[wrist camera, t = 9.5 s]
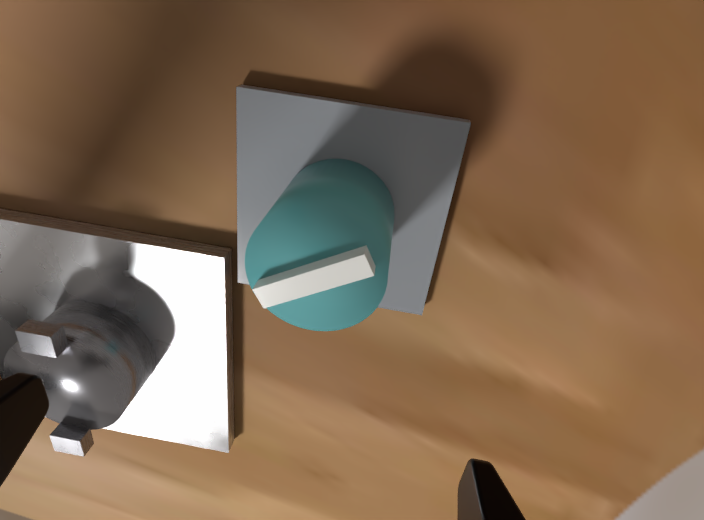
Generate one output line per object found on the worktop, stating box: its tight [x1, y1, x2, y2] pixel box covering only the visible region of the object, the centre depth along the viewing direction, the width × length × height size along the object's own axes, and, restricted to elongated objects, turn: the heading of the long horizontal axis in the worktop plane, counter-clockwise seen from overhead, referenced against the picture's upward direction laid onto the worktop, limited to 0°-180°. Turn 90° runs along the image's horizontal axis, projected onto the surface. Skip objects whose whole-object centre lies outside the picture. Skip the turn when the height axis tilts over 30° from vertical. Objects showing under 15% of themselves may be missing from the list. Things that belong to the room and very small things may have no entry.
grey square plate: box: [0, 208, 234, 456], centre depth 23 cm, size 14×14×5 cm
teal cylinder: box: [245, 159, 395, 331], centre depth 16 cm, size 5×5×6 cm
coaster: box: [236, 85, 471, 315], centre depth 19 cm, size 9×9×1 cm
